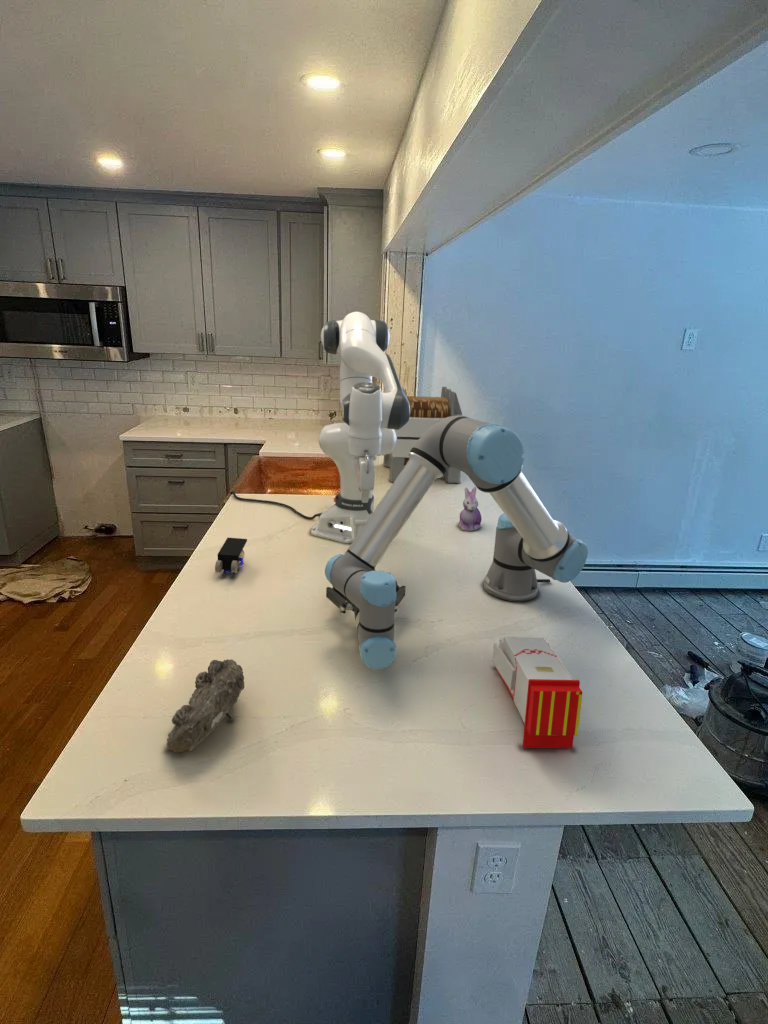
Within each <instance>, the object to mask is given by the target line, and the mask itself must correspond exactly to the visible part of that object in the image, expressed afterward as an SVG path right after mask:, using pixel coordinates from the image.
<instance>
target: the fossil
mask: <svg viewBox="0 0 768 1024" xmlns="http://www.w3.org/2000/svg"><path fill="white" fill-rule="evenodd" d="M243 670H244V669H243V667H242V665H240V664H237V662H236V661H235V660H234V659H232V658H231V659H227V658H226V659H224V660H223V661H222V660H217V659H212V660H211V661H210V663H209V665H208V666H207V671H201V672H199V673H198V674H197V675H196V676H195V680H194V684H195V685H194V687H195V689H194V690H193V693H192V694H191V697H190V698H189V700H188V704H184V705H182V706H181V707H180V709H177V710H176V711H175V713H174V715H173V716H172V718H171V723H172V724H173V727H172V730H171V731H170V732H168V734H167V738H166V741H167V742H166V745H167V749H168V750H169V751H173V752H174V753H176V754H178V753H182V752H188V751H189V752H192V751H193V750H195V748H196V747H197V746H199V744H200V743H201V742H203V741H204V740H205V739H206V738H207V737H208V736H209V735H210V734H211V733H212V732H214V730H215V729H217V727H218V726H219V724H220V722H221V721H222V720H223V719H224V718H225V716H226V717H227V719H229V720H233V717H232V715H230V714H229V710H230V709H231V708H234V706H235V704H236V703H237V702H238V699H239V697H240V695H241V693H242V691H243V690H245V689H244V688H245V675H244V671H243Z"/></svg>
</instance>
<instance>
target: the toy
mask: <svg viewBox="0 0 768 1024" xmlns="http://www.w3.org/2000/svg"><path fill="white" fill-rule="evenodd" d="M491 662H492V663H493V665H494V667H495V669H496V671H497V673H498V675H499V676H500V678H501V680H502V683H503V684H504V686H505V688H506V689H507V691H508V693H509V695H510V697H511V698H512V700H513V702H514V705H515V707H516V709H517V711H518V713H519V715H520V717H521V719H522V722H523V724H524V725H523V736H522V748H524V749H573V747H574V738H575V736H577V737H578V734H579V725H580V717H581V710H582V709H581V708H582V701H583V700H582V699H583V690H582V689H581V688H580V685H581V681H580V679H574V677H573V676H572V675H571V673H570V672H569V670H568V669H567V668H566V667H565V665H564V664H563V662H562V661H561V660H560V658H559V657H558V656H557V654H556V653H555V651H554V650H553V649H552V647H551V645H550V643H549V642H547V640H546V639H545V637H543V636H542V637H541V636H535V637H534V636H503V637H500V638H499V642H498V643H497V642H494V643H493V649H492V657H491Z"/></svg>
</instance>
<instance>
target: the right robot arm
mask: <svg viewBox="0 0 768 1024" xmlns="http://www.w3.org/2000/svg"><path fill="white" fill-rule="evenodd" d="M524 453H525V448H524V444H523V442H522V440H521V438H520V436H519V435H518V434H517V433H516V432H515V431H514V430H511V429H510V428H507V427H506V426H504V425H501V424H498V423H490V422H486V421H482V420H478V419H475V418H471V417H469V416H465V415H462V416H459V415H457V416H450V417H447V418H444V419H442V420H440V421H439V422H437V423H436V424H434V425H433V426H432V427H431V428H429V429H428V430H427V431H426V432H425V433H424V434H423V435H422V436H421V437H420V439H419V440H418V441H417V442H416V444H415V445H414V446H413V448H412V449H411V450H410V452H409V453H408V456H409V461H408V462H407V464H406V465H404V468H403V470H402V471H401V473H400V474H399V475H398V477H397V478H396V480H395V481H394V482H392V484H391V485H390V487H389V489H388V490H387V491H386V493H385V494H384V496H383V497H382V498H381V500H380V502H379V503H378V504H377V506H376V507H375V508H374V510H373V513H372V515H371V516H370V517H369V519H368V520H367V522H366V523H365V525H364V526H363V528H362V529H361V531H360V532H359V533H358V535H357V536H356V538H355V539H354V541H353V542H352V544H351V543H350V545H349V547H347V550H346V551H344V553H337V554H334V556H332V557H330V558H329V559H328V560H327V562H326V564H325V567H324V576H325V578H326V580H327V581H328V582H329V583H330V584H331V586H332V587H330V586H327V587H326V589H325V594H326V595H325V596H326V597H325V598H327V600H329V602H331V603H332V604H333V605H335V607H337V608H338V609H339V611H340V613H341V614H343V615H344V614H346V613H347V611H352V612H353V613H354V621H355V627H356V633H357V640H358V647H359V648H358V653H359V655H360V659H361V661H362V663H363V664H364V665H365V666H366V667H367V668H369V669H371V670H383V669H386V668H388V667H389V666H390V665H392V663H393V662H394V661H395V659H396V656H397V651H396V647H397V646H396V643H395V614H396V613H397V612H398V607H399V605H400V604H401V602H402V601H403V599H404V598H405V597H406V593H407V592H406V591H407V586H406V585H401V586H400V585H398V581H397V580H396V578H395V576H394V574H392V573H391V572H385V571H384V570H375V571H373V569H374V568H375V569H376V566H377V565H378V564H379V562H380V561H381V559H382V558H383V556H384V555H385V554H386V552H387V551H388V549H389V547H390V546H391V545H392V543H393V542H394V540H395V539H396V537H397V536H398V534H399V533H400V531H402V529H403V527H404V526H405V524H406V523H407V522H408V520H409V518H410V517H411V516H412V515H413V513H414V511H415V510H416V508H417V507H418V505H419V504H420V502H421V501H422V500H423V498H424V497H425V495H426V494H427V492H428V491H429V489H430V488H431V486H432V485H433V484H434V482H435V481H436V479H439V478H444V476H443V475H444V474H445V472H446V471H447V470H448V469H449V468H451V467H453V468H455V469H458V470H460V471H461V472H463V473H464V474H465V475H466V476H467V477H468V478H469V479H470V481H471V482H472V483H473V484H474V487H476V489H478V490H479V491H480V492H482V493H485V494H489V495H490V496H491V497H492V499H493V500H494V501H495V503H496V504H497V505H498V507H499V508H500V510H501V511H502V512H503V513H502V514H500V515H499V516H498V519H497V524H496V527H495V537H494V538H495V539H494V549H493V556H492V557H493V558H492V563H491V564H490V567H489V569H488V570H487V573H486V574H485V577H484V579H483V588H484V590H485V591H486V592H487V593H488V594H490V595H491V596H493V597H494V598H497V599H500V600H504V601H509V602H527V601H531V600H533V599H534V598H536V597H537V596H538V594H539V593H538V592H539V583H547V584H549V583H551V579H552V580H554V581H557V582H559V583H562V584H563V583H564V584H565V583H566V584H567V583H570V582H571V581H573V580H574V579H575V578H577V577H578V575H579V574H580V573H581V572H582V570H583V568H584V567H585V564H586V563H587V562H586V561H587V559H588V555H589V550H588V545H587V544H586V543H585V542H583V541H582V540H581V539H577V538H575V537H573V536H572V535H571V534H570V532H569V530H568V529H567V528H566V526H565V525H564V523H562V522H561V521H559V520H555V519H553V517H552V516H551V514H550V513H549V511H548V510H547V508H546V507H545V506H544V504H543V502H542V500H541V499H540V497H539V496H538V494H537V493H536V491H535V490H534V489H533V487H532V485H531V484H530V482H529V481H528V479H527V478H526V476H525V475H524V473H523V472H522V471H523V467H524V461H525V457H524V456H523V454H524ZM536 571H538V572H539V573H540V574H544V575H545V576H547V577H549V578H551V579H549V578H545V579H544V578H537V574H536Z"/></svg>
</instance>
